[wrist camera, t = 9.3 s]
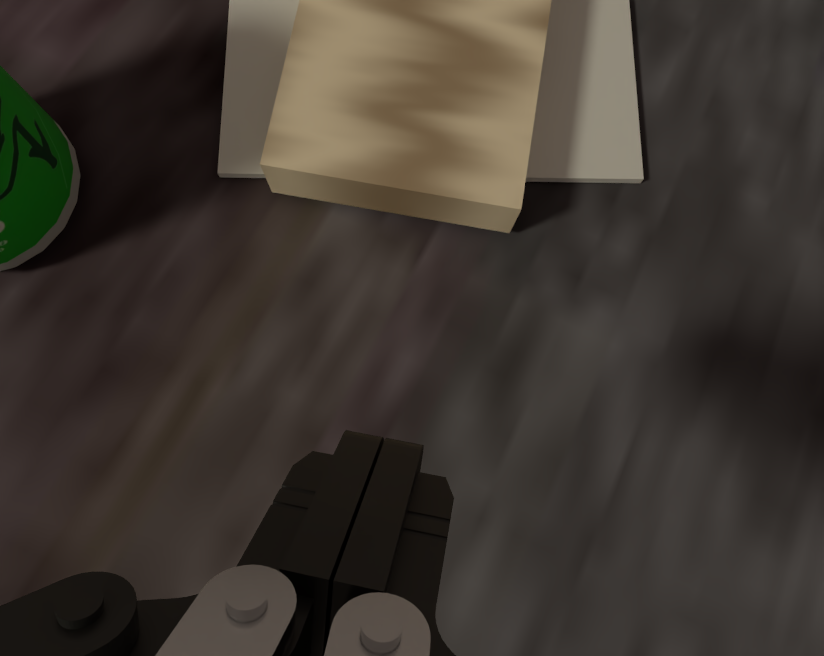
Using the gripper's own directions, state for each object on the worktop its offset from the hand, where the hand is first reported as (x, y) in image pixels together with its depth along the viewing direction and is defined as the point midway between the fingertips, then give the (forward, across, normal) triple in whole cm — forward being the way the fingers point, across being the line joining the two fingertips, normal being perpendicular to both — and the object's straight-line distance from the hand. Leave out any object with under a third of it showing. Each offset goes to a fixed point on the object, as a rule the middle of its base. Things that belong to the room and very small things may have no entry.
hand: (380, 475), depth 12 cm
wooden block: (+15, +3, -2) cm, 15 cm away
